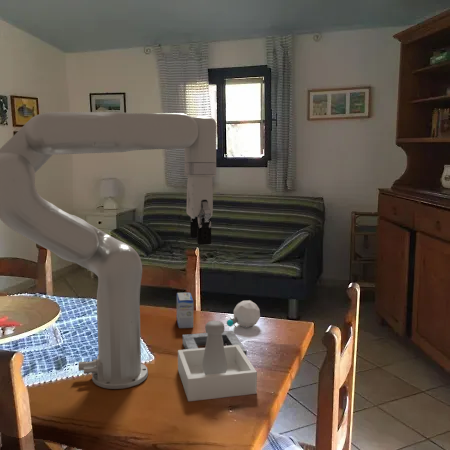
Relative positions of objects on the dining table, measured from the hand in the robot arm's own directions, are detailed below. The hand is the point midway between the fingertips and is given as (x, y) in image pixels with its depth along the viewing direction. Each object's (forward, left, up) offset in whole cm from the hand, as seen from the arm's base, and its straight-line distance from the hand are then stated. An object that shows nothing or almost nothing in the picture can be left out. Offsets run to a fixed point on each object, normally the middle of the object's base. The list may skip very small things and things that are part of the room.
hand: (200, 240), depth 118 cm
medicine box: (0, +25, -31) cm, 40 cm away
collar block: (+4, +3, -30) cm, 31 cm away
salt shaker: (+1, -13, -30) cm, 32 cm away
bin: (+1, -13, -30) cm, 33 cm away
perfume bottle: (+16, +18, -31) cm, 39 cm away
